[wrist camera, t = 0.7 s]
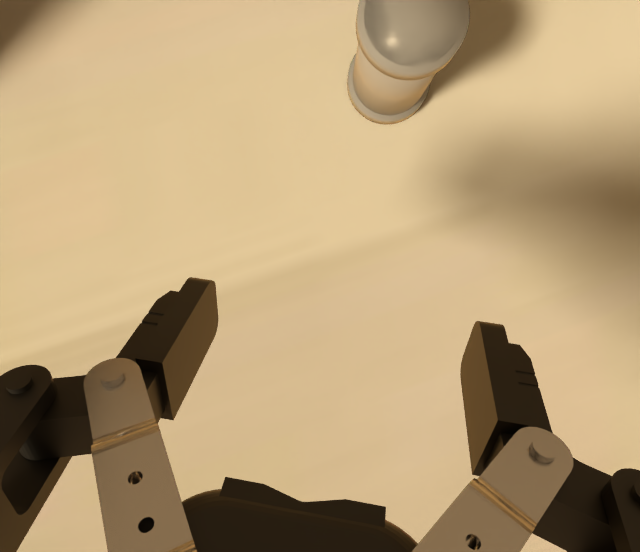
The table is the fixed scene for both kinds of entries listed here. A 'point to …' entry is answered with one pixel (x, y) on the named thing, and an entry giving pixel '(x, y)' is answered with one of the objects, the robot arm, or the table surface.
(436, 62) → the grey flanged cylinder
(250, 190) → the table surface
